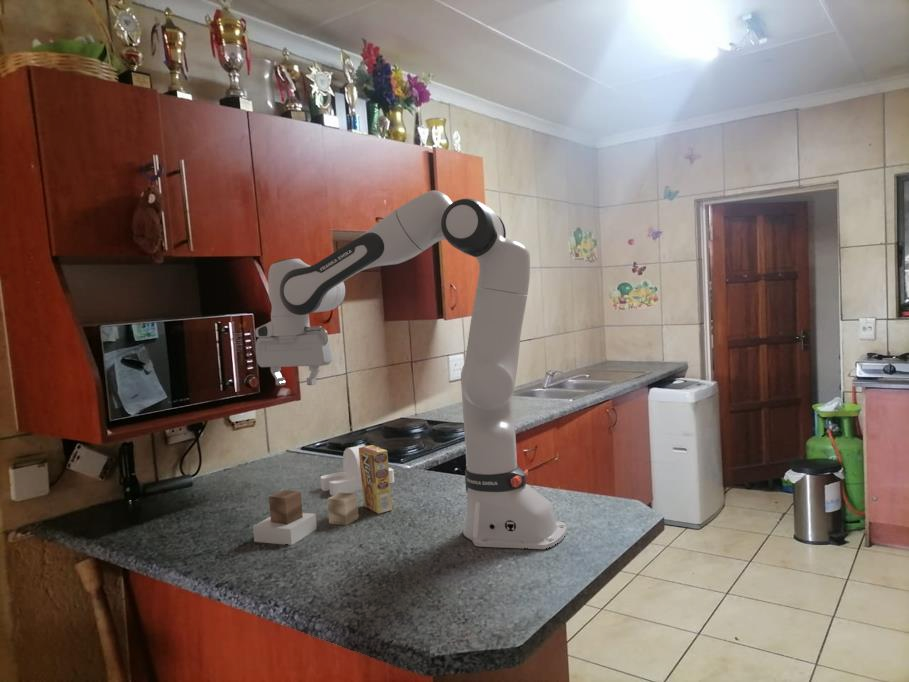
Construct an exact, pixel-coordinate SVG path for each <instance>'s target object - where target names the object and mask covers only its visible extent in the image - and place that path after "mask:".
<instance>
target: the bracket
mask: <svg viewBox="0 0 909 682" xmlns="http://www.w3.org/2000/svg"><path fill="white" fill-rule="evenodd" d="M360 447H363V446H362V445H357V446H351V447H346V448H345V450H344V451H343V455H342V467H343V471H340V472H339V471H338V472H333V473H329V474H324V475H321V476H320V488H321V489H320V490H321V491H323V492H326V491H329V495H331V497H332V496H334V495H336V494H338V493H350V494H353V493H356V492H359V491H362V481H361V469H360V458H359V448H360ZM394 473H395V472H394V469H393V468H391V467H389V478H390V484H393V483H395V474H394Z"/></svg>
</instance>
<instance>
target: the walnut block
mask: <svg viewBox="0 0 909 682" xmlns="http://www.w3.org/2000/svg"><path fill="white" fill-rule="evenodd" d="M268 501H269V504H268V505H269V517H271V522H274V523H280V524H286V525H288V524H290V523H292V522H294V521H296V520H298V519H301V518H303V514H302V513H303V502H302V492H301V491H296V490H287V489H284V490H283V489H282V490H281V491H278V492H276V493H273V494H271V495H269V496H268Z"/></svg>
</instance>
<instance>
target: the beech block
mask: <svg viewBox="0 0 909 682" xmlns="http://www.w3.org/2000/svg"><path fill="white" fill-rule="evenodd" d="M357 495H358V494H357V493H338V494H336V495H334V496H332V495H331V496H330V497H328V498H327V499H326V501H327V502H326V503H327V513H328V524H332V525H342V526H347V525H350V524H351V523H353V522H354V521H356V520H358V519H359V507H358V506H359V505H358V496H357Z"/></svg>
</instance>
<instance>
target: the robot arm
mask: <svg viewBox="0 0 909 682" xmlns="http://www.w3.org/2000/svg"><path fill="white" fill-rule="evenodd" d="M506 236H507V233H506V227H505V224H504V222H503V220H502V219H501V218H500V217H499V215H497V214H496V212H495V211H494V210H493V209H492V208H491V207H489V206H488V205H486V204H484V203H482V202H481V201H480V200H476V199H474V198H462V199H461V198H460V199H458V200H454V201H452V200H451V198H450V197H449V196H448V195H447V194H446V193H443V191H439V190H434V189H433V190H430V191H429V190H428V191H427V192H424V193H422V194H420V195H418V196H416V197H414V198H412V199H410V200H409V201H407V202H406V203H403V204H402V205H400V206H399V207H397V208H396V209H394V210H393V211H392V212H391V213H389V214H387V215H386V216H385V217H383V218H382V219H381V220H379V222H377V223H376V224H374V225H373V226H372V227H370V228H369V229H368V230H366V231H365V232H364V233H362V234H361V235H359V236H358V237H357V238H355V239H354V240H352V241H350V242H348V243H347V244H345V245H344V246H342V247H340V248H339V249H337V250H336V251H334V252H333V253H331V254H329V255H328V256H326V257H324V258H323V259H322V260H320V261H318V262H316V263H314V264H312V265H310V264H307V263H306V262H304V261H303V260H301V258H297V257H291V258H285V259H280V260H278V261H275V262H273V263H272V264H271V265H270V267H269V269H268V276H267V277H268V278H267V281H268V282H267V286H268V287H267V288H268V298H269V301H270V304H271V310H270V311H271V312H270V319H271V320H270V321H269V322H267V323H265V324H262V325H260V326H259V327H256V328H255V331H254V332H255V337H256V338H257V339H256V342H255V356H256V362H257V364H258V366H259V367H260V368H270V372H271V375H272V376H273V377H274V379H275V386H285V385H286V378H285V377H284V376H282V373H281V370H282V367H284V368H286V367H308V370H309V371H310V374H309V377H306V385H307V386H316V385H317V376H318V374H319V371H320V370H321V369H320V367H322V366H327V365H330V364H331V362H332V360H333V357H332V351H331V345H330V342H329V334H328V331H327V330H326V329H325V328H324V327H323V326H319V325H317V326H311V325H310V314H313V313H322V312H330V311H332V310H334V309H335V310H336V309H337V308H338V307H340V306H341V305H342V304H343V303H344V300H345V299H346V295H347V294H346V291H347V288H346V285H345V281H347V280H349V279H350V278H351V277H353V276H355V275H356V274H358V273H360V272H362V271H365V270H367V269H371V268H375V267H383V266H391V265H398V264H401V263H404V262H407V261H409V260H411V259H413V258H415V257H417V256H418V255H419V254H421V253H423V252H424V251H426V250H427V249H429V248H431V247H432V246H433V245H434V244H436V243H438V242H441V241H444V240H446V241H447V242H448V243H449V244H450V245H451V246H452V247H453V248H454V249H457V250H458V251H460V252H461V253H463V254H465V255H467V256H471V257H473V258H475V259H476V260H477V263H478V267H479V268H478V269H479V271H478V278H477V282H476V283H477V284H476V289H475V295H474V296H475V297H474V302H473V306H472V312H471V319H470V324H469V333H468V337H467V346H466V352H465V359H464V364H463V366H462V369H461V372H460V384H461V385H460V386H461V387H460V388H461V398H462V401H461V402H462V414H463V415H462V416H463V431H464V446H465V448H464V449H465V459H466V460H465V461H466V462H465V463H466V465H465V466H466V468H465V469H464V475H465V476H464V481H465V490H466V491H465V492H466V493H467V496H466V497H467V499H466V500H467V501H466V502H467V504H466V514H465V522H464V526H463V530H462V533H463V536H464V537H466V538H467V539H469V540H471V542H472V543H473V545H474V546H475V547H478V548H479V547H481V548H482V547H483V548H484V547H485V548H503V549H504V548H506V549H507V548H508V549H524V548H526V549H527V548H528V549H529V550H546V548H547V549H549V547H550V548H552V547H554V546H556V545H558V544H559V543H560V542H562V541H563V539H564V538H565V537H566V536H567V533H568V531H567V530H568V529H567V525H566V524H565V523H564V522H562V521H557V518H556V513H555V510H554V507H553V504H552V503H551V501H550V500H548V499H547V498H546V497H544V496H543V495H542V494H540V493H539V492H538V491H536V490H535V489H534V488H532V487H531V486H530V485H529V484H527V476H528V475H529V469H526V470H522V468H520V466H519V465H518V462H517V461H518V460H517V459H518V457H517V441H516V440H517V439H516V427H515V419H514V411H513V401H512V399H513V398H512V396H513V393H514V391H515V387H516V386H515V385H516V378H517V371H518V363H519V357H520V356H519V355H520V347H521V346H520V345H521V336H522V328H523V324H524V323H523V322H524V317H525V313H526V311H525V310H526V305H527V300H528V294H529V287H530V277H531V276H530V274H531V257H530V256H531V255H530V252H529V250H528V248H527V247H526V246H525V245H524V244H522V243H520V242H519V241H516V240H513V239H509V238H506ZM564 536H565V537H564ZM557 543H558V544H557ZM555 544H556V545H555Z"/></svg>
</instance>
